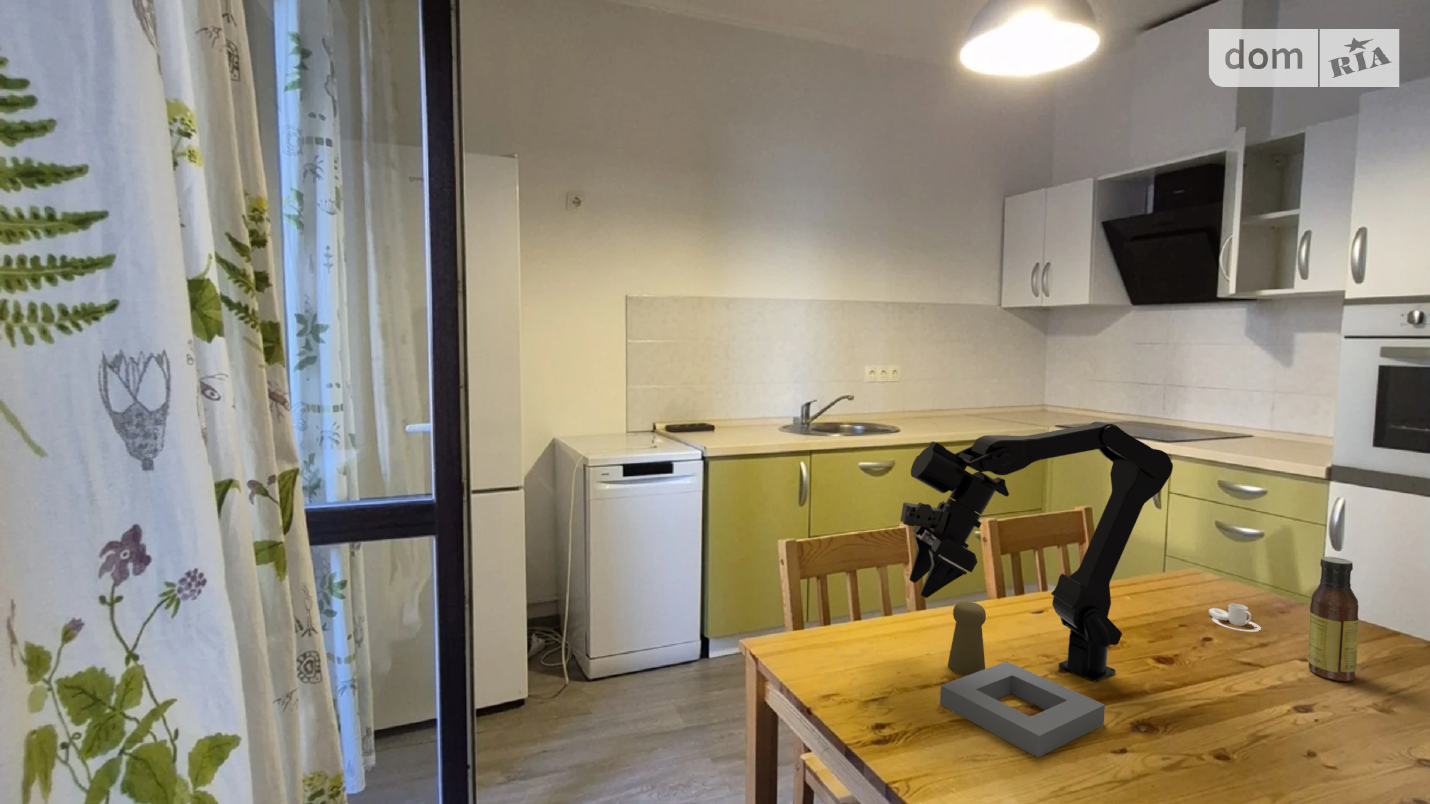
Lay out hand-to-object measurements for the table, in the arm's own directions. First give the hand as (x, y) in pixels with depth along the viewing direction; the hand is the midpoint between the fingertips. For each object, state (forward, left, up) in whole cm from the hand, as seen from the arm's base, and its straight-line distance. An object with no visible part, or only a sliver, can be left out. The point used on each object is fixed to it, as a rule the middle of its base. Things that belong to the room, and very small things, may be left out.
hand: (917, 588), depth 116 cm
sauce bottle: (-61, +37, -14) cm, 72 cm away
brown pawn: (-9, +4, -14) cm, 17 cm away
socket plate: (-3, +18, -14) cm, 23 cm away
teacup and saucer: (-76, +18, -15) cm, 79 cm away
